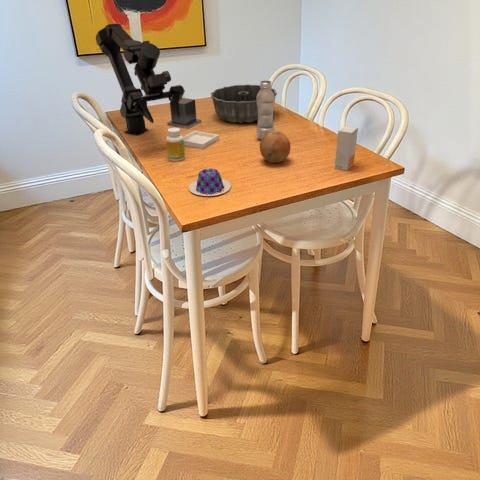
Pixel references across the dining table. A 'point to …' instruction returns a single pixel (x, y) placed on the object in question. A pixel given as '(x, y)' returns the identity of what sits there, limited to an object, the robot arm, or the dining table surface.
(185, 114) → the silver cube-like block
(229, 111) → the bundt pan
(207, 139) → the white tray
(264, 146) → the onion
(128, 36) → the robot arm
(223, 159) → the dining table surface
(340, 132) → the skincare box
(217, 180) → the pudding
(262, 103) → the plastic bottle
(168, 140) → the supplement bottle
